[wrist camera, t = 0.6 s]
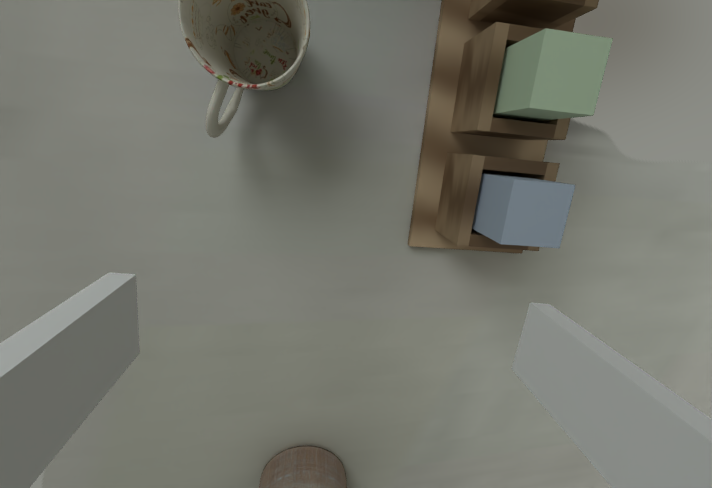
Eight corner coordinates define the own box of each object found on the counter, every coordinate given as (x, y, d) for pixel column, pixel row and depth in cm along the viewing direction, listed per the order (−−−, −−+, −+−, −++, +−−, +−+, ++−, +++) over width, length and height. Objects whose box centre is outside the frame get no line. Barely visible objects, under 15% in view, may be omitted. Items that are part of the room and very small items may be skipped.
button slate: (473, 172, 33) (514, 179, 26) (523, 176, 34) (575, 185, 27) (464, 224, 34) (500, 244, 28) (512, 228, 35) (559, 248, 28)
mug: (326, 34, 33) (331, -10, 23) (271, 160, 35) (254, 166, 26) (240, -17, 31) (206, -89, 21) (188, 118, 33) (136, 109, 24)
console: (457, -113, 31) (497, -184, 24) (593, -85, 32) (665, -145, 26) (407, 244, 39) (426, 265, 32) (518, 251, 41) (557, 272, 34)
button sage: (495, 53, 30) (545, 28, 24) (548, 61, 31) (612, 38, 24) (484, 115, 32) (529, 107, 25) (535, 121, 32) (593, 115, 26)
